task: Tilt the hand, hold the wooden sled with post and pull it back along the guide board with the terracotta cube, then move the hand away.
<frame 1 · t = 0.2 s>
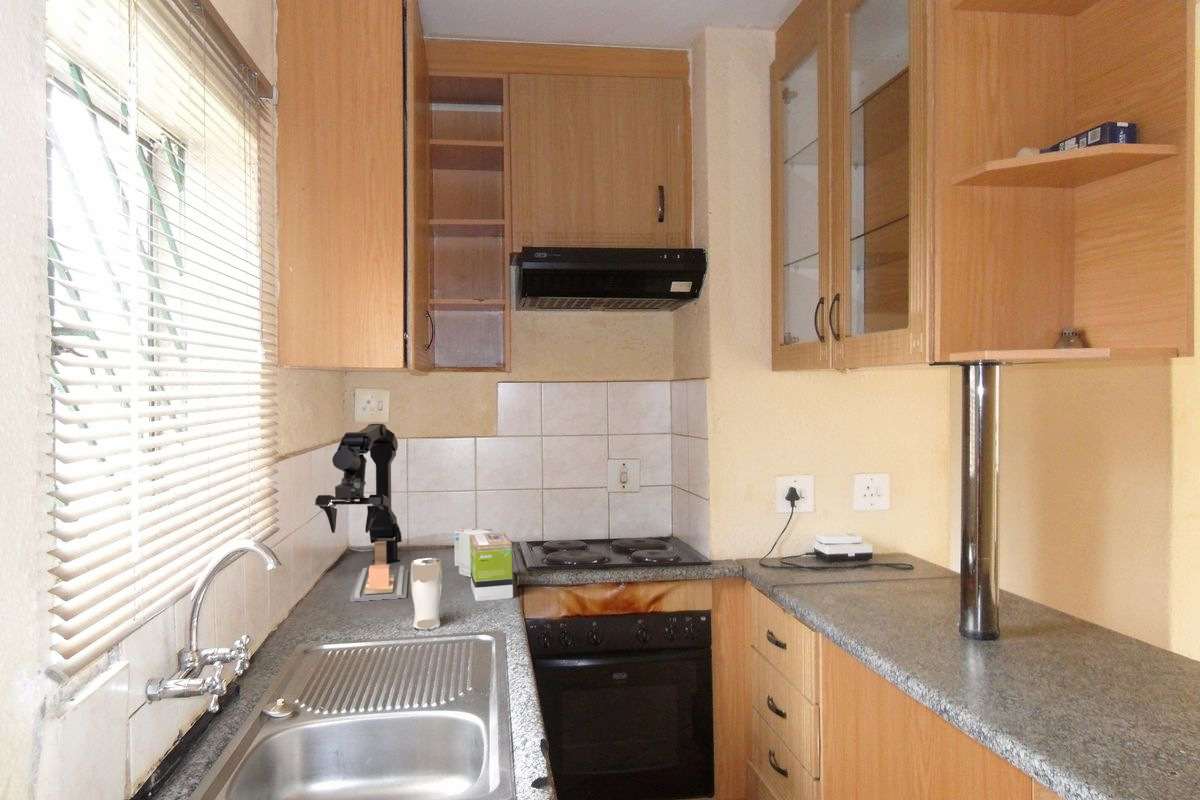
hand: (349, 532, 213), 15 cm above the worktop, tool tilted 15°, fingers open, 9 cm apart
terracotta cube: (379, 585, 206), point 2 cm above the worktop, touching wooden sled with post
wooden sled with post: (380, 565, 210), point 7 cm above the worktop, slide at 10.0 cm, touching terracotta cube
light bulb box: (473, 565, 241), on the worktop
guide board: (381, 586, 215), on the worktop
tea box: (491, 594, 206), on the worktop
beer glass: (426, 627, 177), on the worktop
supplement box: (476, 574, 228), on the worktop
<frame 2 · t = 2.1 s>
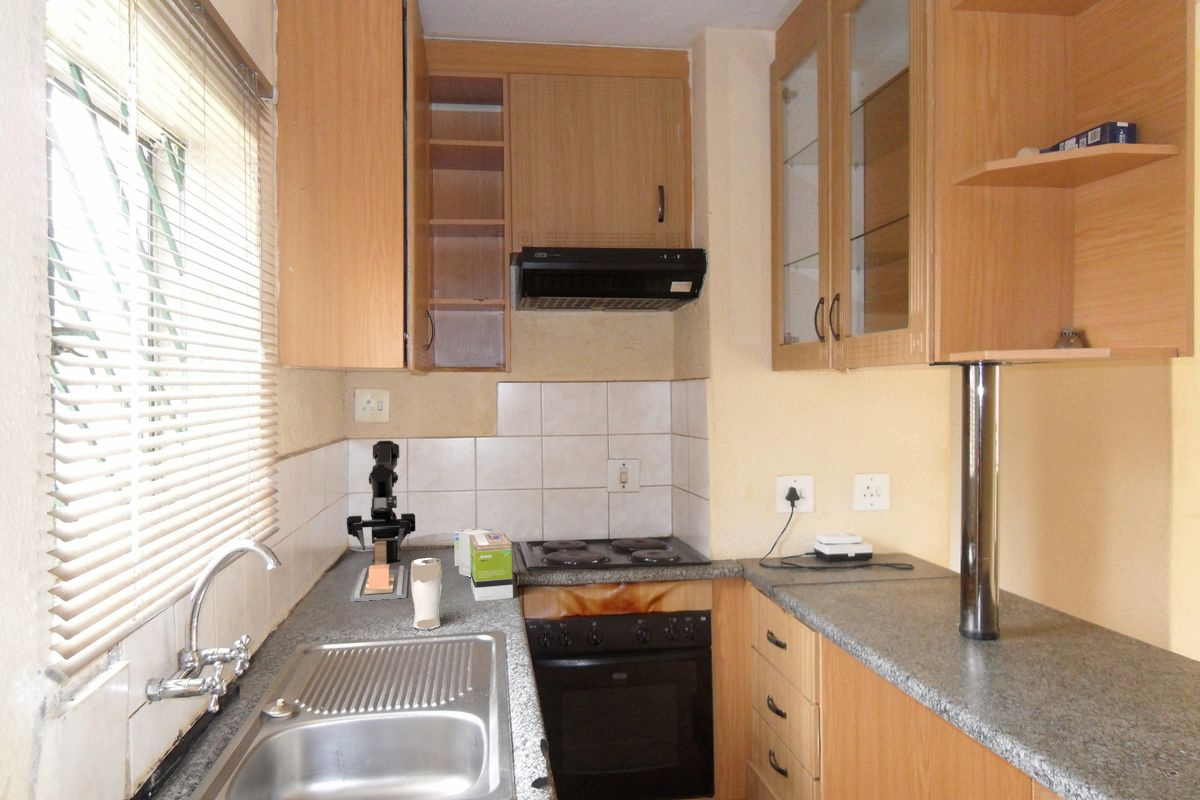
hand: (380, 548, 216), 10 cm above the worktop, tool tilted 45°, fingers open, 9 cm apart
nothing on the worktop moved.
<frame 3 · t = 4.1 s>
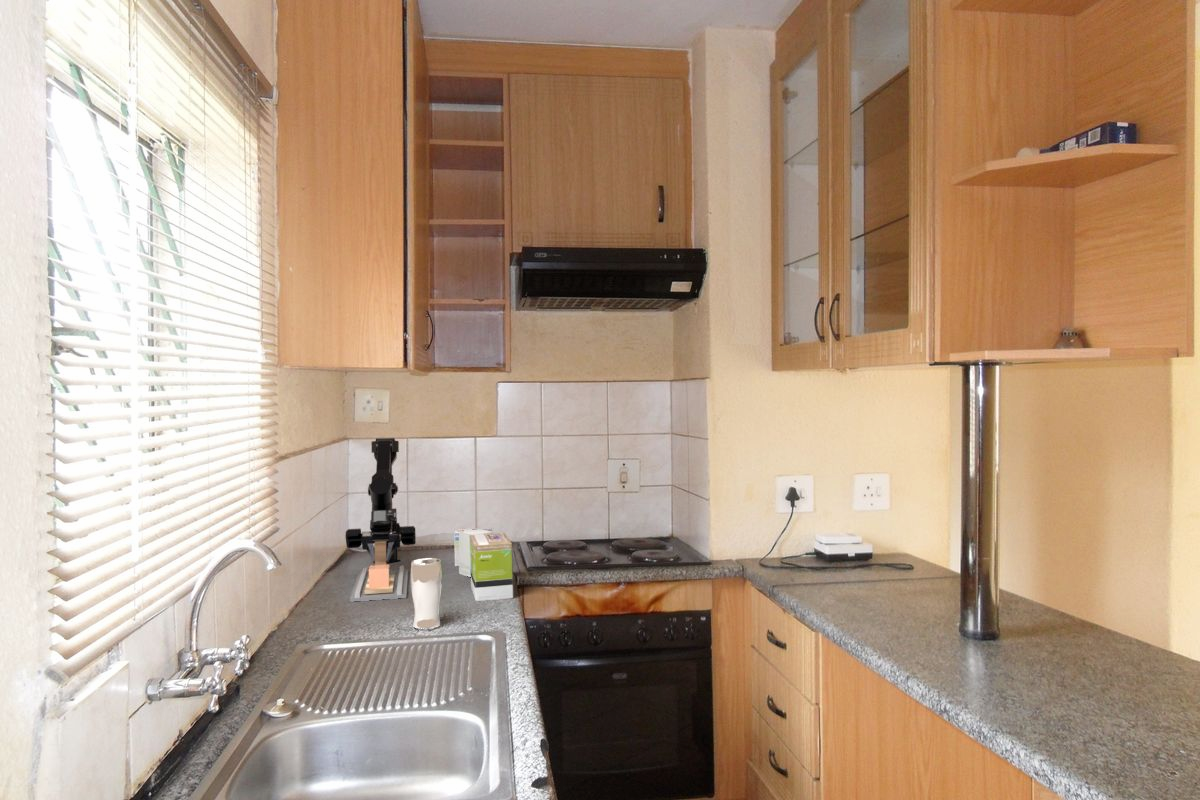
hand: (380, 562, 212), 7 cm above the worktop, tool tilted 45°, fingers closed on wooden sled with post, 3 cm apart
wooden sled with post: (380, 565, 210), point 7 cm above the worktop, slide at 10.0 cm, touching gripper, terracotta cube
everything else where it was.
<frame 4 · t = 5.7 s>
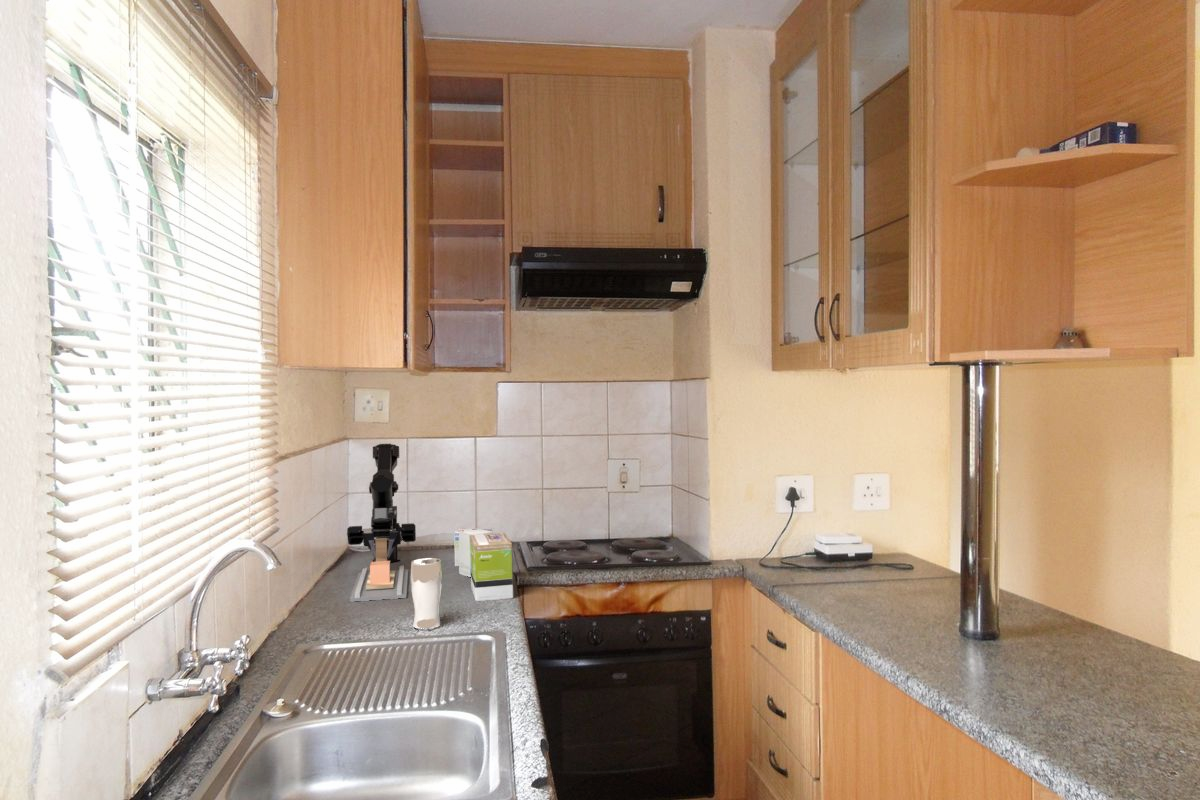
hand: (381, 558, 217), 7 cm above the worktop, tool tilted 45°, fingers closed on wooden sled with post, 3 cm apart
terracotta cube: (380, 581, 211), point 2 cm above the worktop, touching wooden sled with post
wooden sled with post: (380, 561, 214), point 7 cm above the worktop, slide at 5.2 cm, touching gripper, terracotta cube
everything else where it was.
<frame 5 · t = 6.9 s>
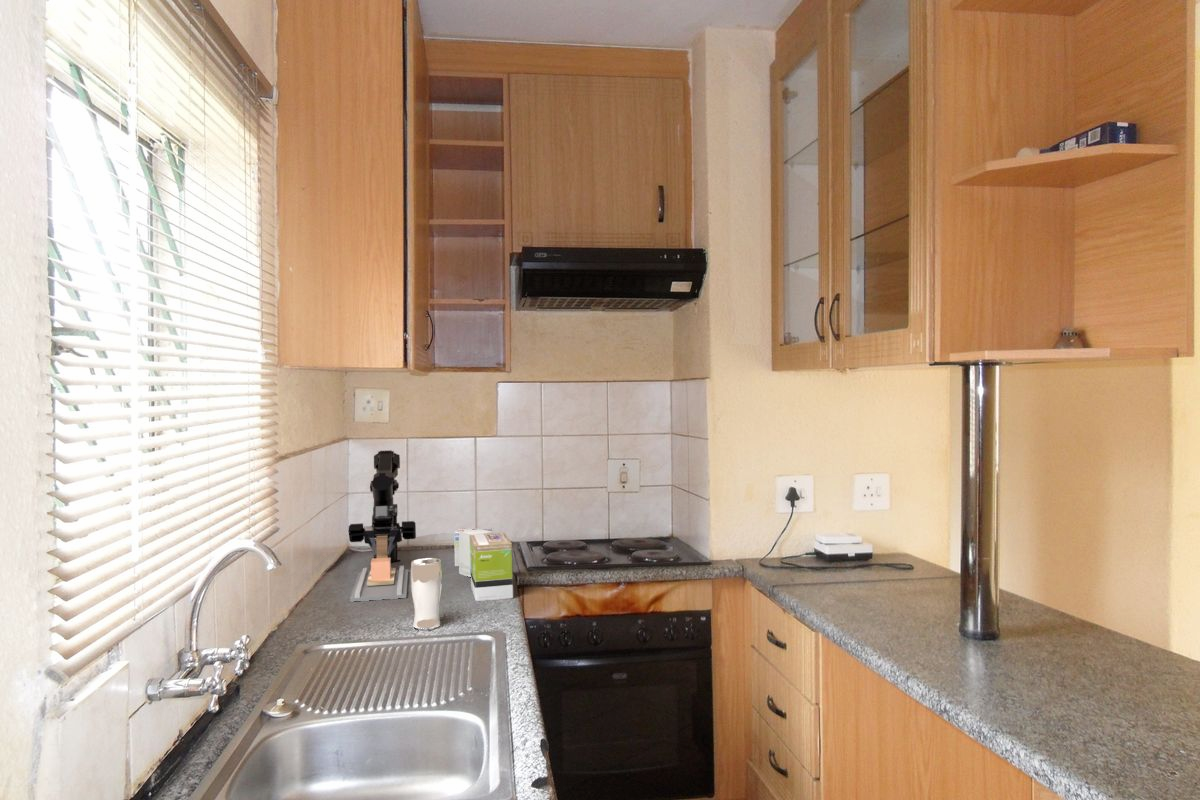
hand: (382, 556, 221), 7 cm above the worktop, tool tilted 45°, fingers closed on wooden sled with post, 3 cm apart
terracotta cube: (381, 578, 215), point 2 cm above the worktop, touching wooden sled with post
wooden sled with post: (381, 558, 219), point 7 cm above the worktop, slide at 1.0 cm, touching gripper, terracotta cube
everything else where it was.
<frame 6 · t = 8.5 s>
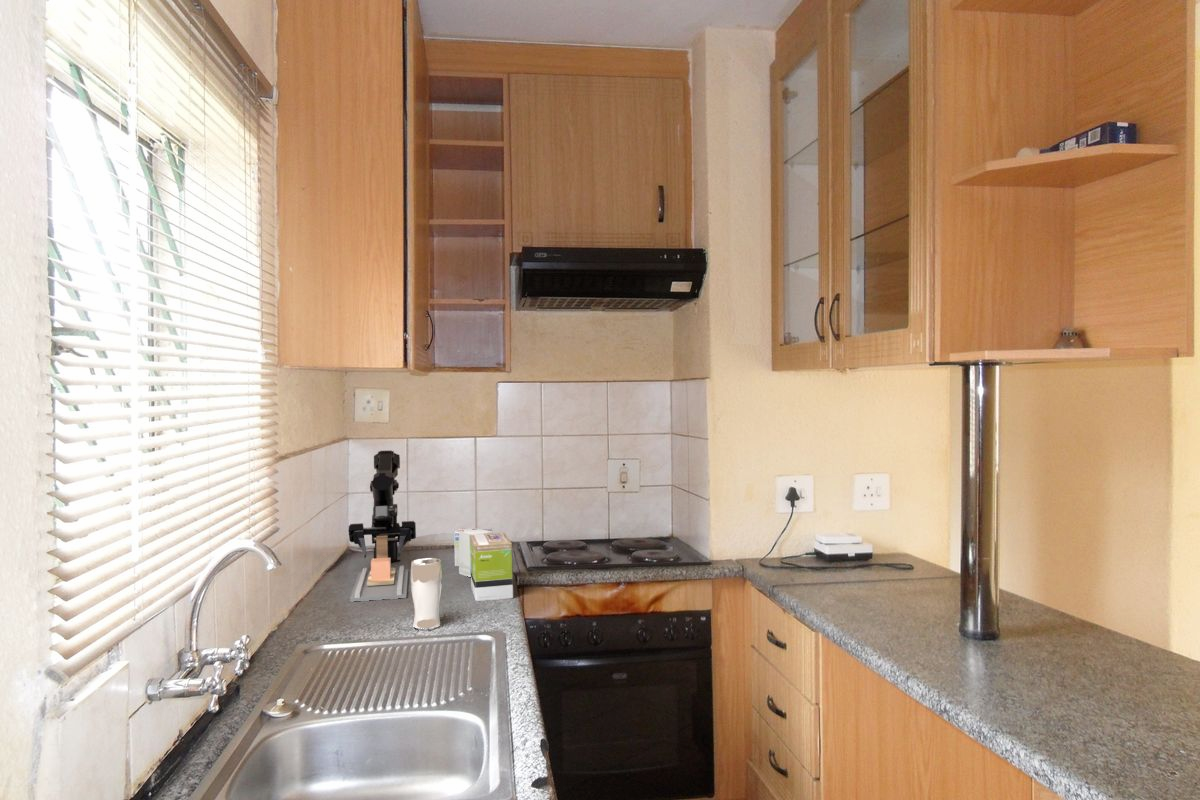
hand: (382, 555, 221), 7 cm above the worktop, tool tilted 45°, fingers open, 9 cm apart
wooden sled with post: (381, 558, 219), point 7 cm above the worktop, slide at 1.0 cm, touching terracotta cube
everything else where it was.
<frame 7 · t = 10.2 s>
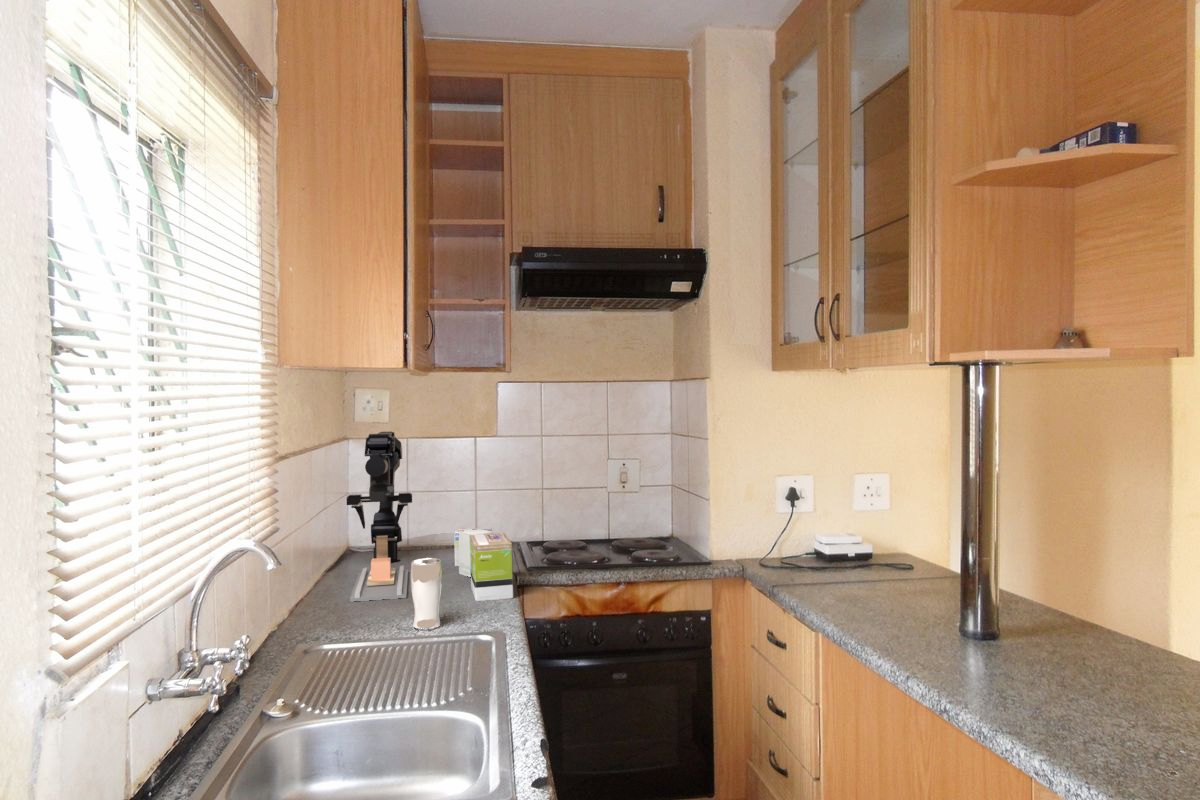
hand: (380, 527, 232), 13 cm above the worktop, tool pointing down, fingers open, 9 cm apart
nothing on the worktop moved.
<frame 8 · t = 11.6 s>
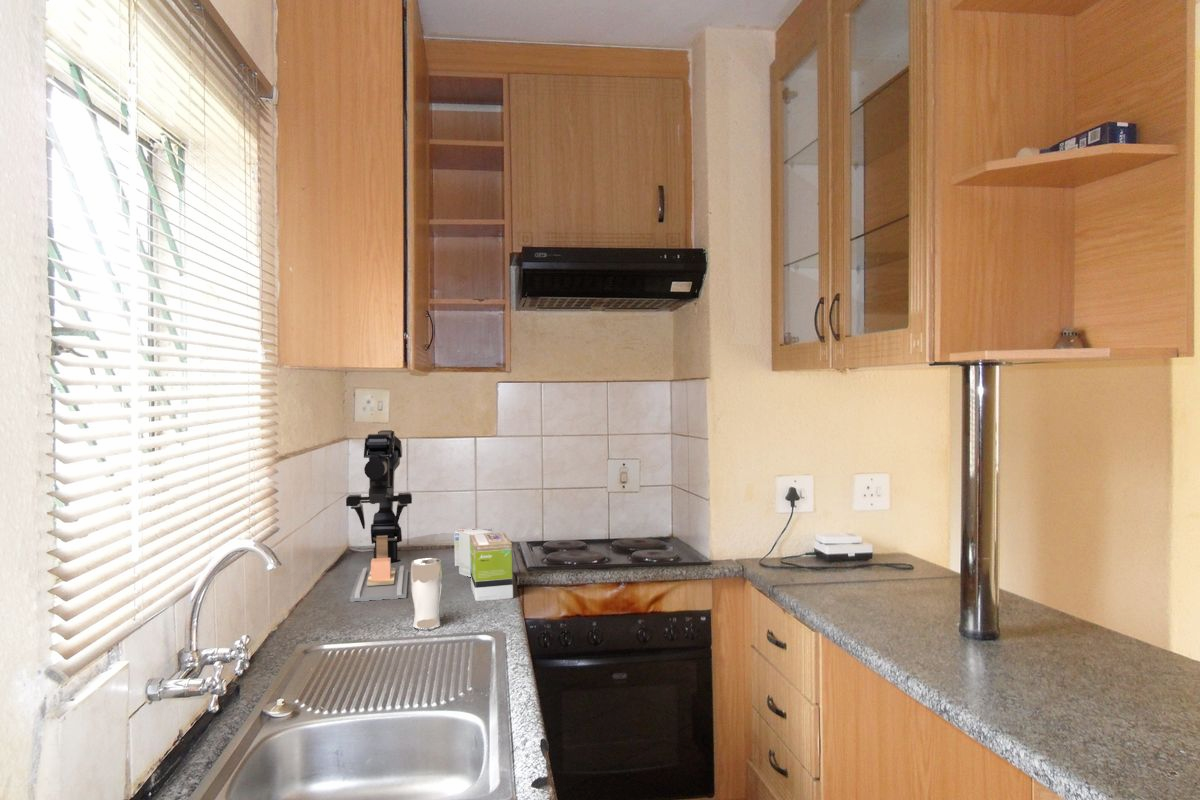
hand: (380, 528, 233), 13 cm above the worktop, tool pointing down, fingers open, 9 cm apart
nothing on the worktop moved.
at the end: terracotta cube 0.4 cm from the target spot, point 2.3 cm above the worktop; terracotta cube tilted 0°; wooden sled with post slide at 1.0 cm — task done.
